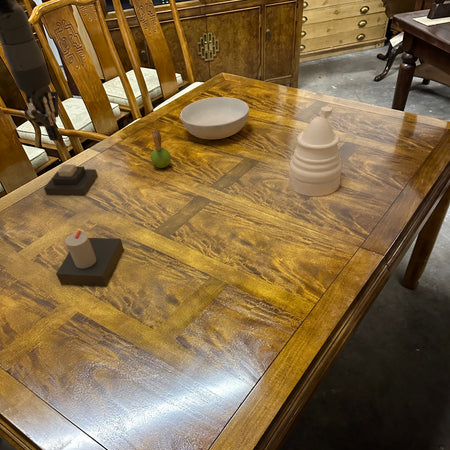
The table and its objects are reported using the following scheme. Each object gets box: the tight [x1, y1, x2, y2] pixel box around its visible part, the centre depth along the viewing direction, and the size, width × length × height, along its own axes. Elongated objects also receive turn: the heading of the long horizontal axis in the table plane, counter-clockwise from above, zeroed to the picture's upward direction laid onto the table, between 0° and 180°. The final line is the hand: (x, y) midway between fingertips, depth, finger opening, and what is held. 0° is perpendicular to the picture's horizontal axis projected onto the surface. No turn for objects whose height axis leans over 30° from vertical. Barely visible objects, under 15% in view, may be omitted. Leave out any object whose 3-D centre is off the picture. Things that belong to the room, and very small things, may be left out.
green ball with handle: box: [150, 129, 172, 169], centre depth 114 cm, size 5×6×12 cm
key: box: [56, 164, 77, 177], centre depth 111 cm, size 4×4×2 cm
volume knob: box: [64, 230, 96, 269], centre depth 85 cm, size 4×4×6 cm
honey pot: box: [288, 106, 343, 197], centre depth 101 cm, size 13×13×18 cm
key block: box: [43, 166, 99, 197], centre depth 113 cm, size 11×10×4 cm
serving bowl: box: [179, 96, 250, 140], centre depth 129 cm, size 21×21×7 cm
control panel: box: [55, 237, 125, 287], centre depth 89 cm, size 10×12×3 cm
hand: (55, 139), depth 105 cm, fingers closed
